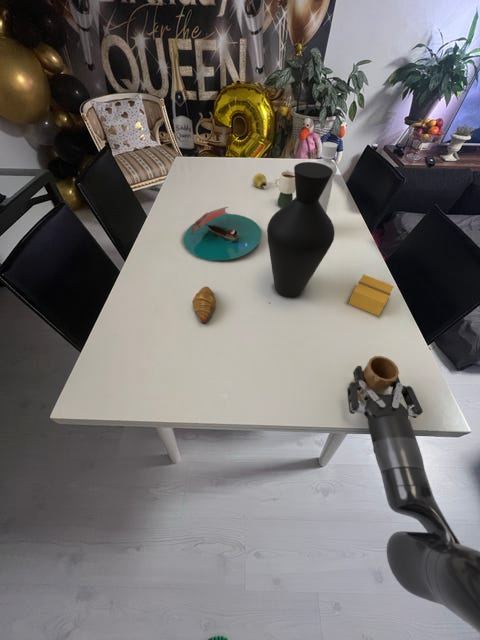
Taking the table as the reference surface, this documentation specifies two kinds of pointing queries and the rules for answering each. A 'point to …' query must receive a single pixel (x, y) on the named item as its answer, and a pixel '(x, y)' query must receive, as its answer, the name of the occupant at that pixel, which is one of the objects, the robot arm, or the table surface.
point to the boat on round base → (222, 236)
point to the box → (371, 294)
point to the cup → (379, 374)
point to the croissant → (204, 304)
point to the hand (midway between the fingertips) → (373, 369)
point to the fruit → (259, 180)
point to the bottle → (327, 156)
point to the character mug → (285, 187)
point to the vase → (300, 231)
